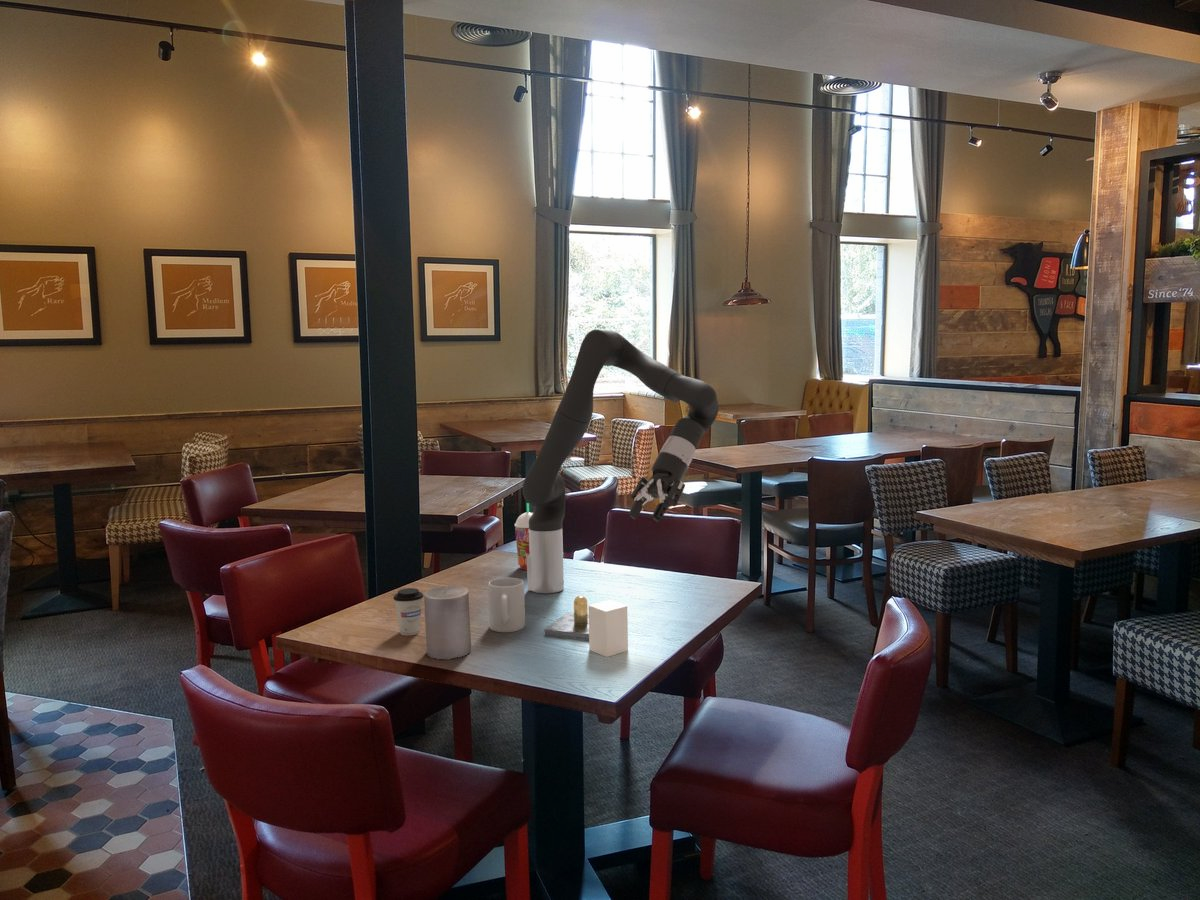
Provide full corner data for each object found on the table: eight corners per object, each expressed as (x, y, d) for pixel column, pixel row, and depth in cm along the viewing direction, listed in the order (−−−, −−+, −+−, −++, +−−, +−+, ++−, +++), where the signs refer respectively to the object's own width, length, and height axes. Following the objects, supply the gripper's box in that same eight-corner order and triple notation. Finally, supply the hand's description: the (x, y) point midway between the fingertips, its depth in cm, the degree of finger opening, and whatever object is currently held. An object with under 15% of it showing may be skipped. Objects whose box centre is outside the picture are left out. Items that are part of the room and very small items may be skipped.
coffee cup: (393, 629, 200) (391, 588, 199) (422, 625, 203) (420, 585, 202) (396, 638, 194) (394, 596, 193) (427, 634, 196) (425, 593, 195)
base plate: (544, 635, 194) (543, 601, 193) (566, 618, 206) (565, 586, 205) (596, 641, 189) (596, 606, 189) (616, 623, 202) (615, 591, 201)
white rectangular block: (589, 649, 184) (588, 605, 183) (610, 643, 188) (609, 600, 187) (606, 657, 180) (605, 611, 178) (628, 650, 183) (627, 606, 182)
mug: (491, 621, 205) (489, 577, 204) (526, 620, 205) (524, 576, 204) (486, 638, 193) (484, 591, 192) (523, 637, 193) (522, 590, 192)
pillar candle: (439, 643, 190) (436, 578, 189) (479, 646, 188) (475, 581, 186) (418, 658, 181) (414, 591, 179) (459, 662, 178) (456, 593, 177)
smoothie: (510, 568, 256) (508, 504, 254) (530, 563, 262) (528, 500, 260) (528, 572, 251) (526, 506, 248) (549, 567, 257) (547, 503, 254)
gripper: (644, 450, 201) (614, 508, 196) (683, 450, 189) (652, 511, 184) (664, 468, 204) (635, 525, 199) (704, 469, 193) (674, 529, 188)
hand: (643, 518), depth 192 cm, fingers open, 8 cm apart
